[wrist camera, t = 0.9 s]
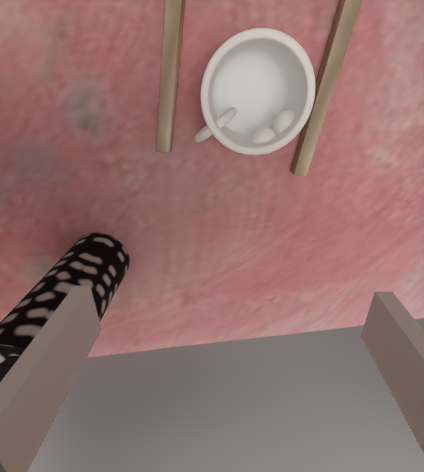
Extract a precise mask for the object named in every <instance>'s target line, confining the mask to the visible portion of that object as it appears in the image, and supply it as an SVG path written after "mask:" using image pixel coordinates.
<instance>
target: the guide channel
mask: <svg viewBox="0 0 424 472" xmlns="http://www.w3.org/2000/svg"><path fill="white" fill-rule="evenodd" d="M361 3H362V0H340V1H339V4H338V8H337V11H336V15H335V18H334V22H333V25H332V28H331V32H330V35H329V39H328V42H327V46H326V49H325V53H324V56H323V60H322V63H321V66H320V70H319V73H318V77H317V80H316V84H315V98H314V103H313V107H312V110H311V113H310V115H309V118H308V120H307V121H306V123H305V125H304V126H303V129H302V132H301V135H300V139H299V142H298V146H297V149H296V153H295V156H294V160H293V163H292V166H291V170H290V171H291V172H292V173H293V175H298V176H304V177H306V175H307V172H308V169H309V166H310V163H311V160H312V157H313V153H314V150H315V147H316V144H317V141H318V138H319V135H320V132H321V128H322V125H323V122H324V119H325V116H326V113H327V110H328V106H329V103H330V100H331V97H332V94H333V91H334V88H335V85H336V81H337V78H338V75H339V72H340V69H341V66H342V63H343V60H344V56H345V53H346V50H347V47H348V44H349V41H350V38H351V35H352V31H353V28H354V25H355V22H356V19H357V16H358V13H359V9H360V6H361ZM184 6H185V0H166V4H165V20H164V35H163V51H162V67H161V82H160V98H159V114H158V129H157V145H156V152H161V153H167V154H169V153H170V152H171V151H172V141H173V129H174V118H175V107H176V96H177V84H178V73H179V62H180V51H181V39H182V28H183V17H184Z"/></svg>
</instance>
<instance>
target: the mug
mask: <svg viewBox="0 0 424 472" xmlns="http://www.w3.org/2000/svg"><path fill="white" fill-rule="evenodd" d="M314 98H315V76H314V71H313V67H312V64H311V62H310V59H309V57H308V55H307V54H306V52H305V50H304V49H303V48H302V46H301V45H300V44H299V43H298V42H297V41H296V40H295V39H293V38H292V37H291V36H289V35H287V34H286V33H283V32H281V31H279V30H275V29H271V28H254V29H249V30H245V31H243V32H240V33H238V34H236V35H234V36H233V37H231V38H230V39H228V40H227V41H226V42H224V43H223V44H222V45H221V46H220V47H219V48H218V50H217V51H216V52H215V53H214V55H213V56H212V58H211V59H210V61H209V63H208V65H207V67H206V70H205V72H204V75H203V79H202V84H201V93H200V99H201V108H202V113H203V116H204V119H205V122H206V124H207V125H206V126H205V127H203V128H202V129H201V130H200V131H199V132H198V133H197V134H196V135H195V136H194V141H195V142H197V143H200V142H202V141H204V140H205V139H207V138H209V137H210V136H211V135H214V136H215V138H216V139H217V140H218V141H219V142H220V143H222V144H223V145H224V146H226V147H227V148H229V149H231V150H233V151H235V152H238V153H241V154H246V155H262V154H270V153H271V152H273V151H275V150H278V149H280V148H281V147H283V146H285V145H286V144H288V143H289V142H290V141H291V140H292V139H293V138H294V137H295V136H296V135H297V134H298V133H299V132H300V131H301V129H302V128H303V126H304V125H305V123H306V121H307V120H308V118H309V115H310V113H311V110H312V107H313V103H314Z"/></svg>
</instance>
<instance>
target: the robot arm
mask: <svg viewBox="0 0 424 472" xmlns="http://www.w3.org/2000/svg"><path fill="white" fill-rule="evenodd" d="M100 331H101V325H100V321H99V318H98V314H97V310H96V306H95V302H94V298H93V294H92V290H91V287H90V286H74V287H73V288H72V290H71V291H70V292H69V293H68V295H67V296H66V297H65V299H64V300H63V301H62V303H61V304H60V305H59V306H58V308H57V309H56V310H55V312H54V313H53V314H52V316H51V317H50V318H49V320H48V321H47V322H46V323H45V325H44V326H43V327H42V329H41V330H40V331H39V333H38V334H37V335H36V336H35V338H34V339H33V340H32V342H31V343H30V344H29V346H28V347H27V348H26V349H25V351H24V352H23V353H22V355H21V356H9V357H8V358H7V359H6V360H4V361H3V362H2V363H0V472H27V471H28V469H29V467H30V465H31V463H32V461H33V460H34V458H35V456H36V454H37V452H38V450H39V448H40V446H41V444H42V442H43V440H44V438H45V437H46V435H47V433H48V431H49V429H50V427H51V425H52V423H53V421H54V419H55V417H56V415H57V413H58V411H59V410H60V408H61V406H62V404H63V402H64V400H65V398H66V396H67V394H68V392H69V390H70V388H71V386H72V385H73V383H74V381H75V379H76V377H77V375H78V373H79V371H80V369H81V367H82V365H83V363H84V361H85V359H86V358H87V356H88V354H89V352H90V350H91V348H92V346H93V344H94V342H95V340H96V338H97V336H98V335H99V333H100ZM361 337H362V339H363V341H364V342H365V345H366V347H367V348H368V350H369V352H370V354H371V356H372V358H373V360H374V361H375V363H376V365H377V367H378V369H379V371H380V373H381V374H382V376H383V378H384V380H385V382H386V384H387V386H388V387H389V389H390V391H391V393H392V395H393V397H394V398H395V400H396V402H397V404H398V406H399V408H400V409H401V412H402V413H403V415H404V417H405V419H406V421H407V423H408V425H409V426H410V428H411V430H412V432H413V434H414V436H415V437H416V439H417V441H418V443H419V445H420V447H421V449H422V451H423V452H424V331H423V330H422V328H421V327H420V326H419V325H418V323H417V322H416V321H415V320H414V318H413V317H412V316H411V315H410V313H409V312H408V311H407V310H406V308H405V307H404V306H403V305H402V303H401V302H400V301H399V300H398V299H397V297H396V296H395V295H394V294H393V292H375V293H374V296H373V299H372V303H371V306H370V309H369V312H368V315H367V318H366V321H365V325H364V328H363V331H362V334H361Z"/></svg>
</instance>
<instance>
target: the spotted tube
mask: <svg viewBox="0 0 424 472" xmlns="http://www.w3.org/2000/svg"><path fill="white" fill-rule="evenodd" d="M128 267H129V256H128V253H127V251H126V249H125V248H124V246H123V245H122V244H121V243H120V242H119V241H117V240H116V239H114V238H113V237H110V236H108V235H105V234H99V233H93V234H88V235H85V236H83V237H82V238H81V239H79V240H78V241H77V242H76V243H75V245H74V246H73V247H72V248H71V249H70V250H69V251H68V252H67V253H66V254H65V255H64V256H63V257H62V258H61V259H60V260H59V261H58V262H57V263H56V265H55V266H54V267H53V268H52V269H51V270H50V271H49V272H48V273H47V274H46V275H45V276H44V277H43V278H42V279H41V280H40V281H39V282H38V283H37V284H36V286H35V287H34V288H33V289H32V290H31V291H30V292H29V293H28V294H27V295H26V296H25V297H24V298H23V299H22V300H21V301H20V302H19V303H18V304H17V306H16V307H15V308H14V309H13V310H12V311H11V312H10V313H9V314H8V315H7V316H6V317H5V318H4V319H3V320H2V321H1V322H0V363H2V362H3V361H4V360H6V359H7V358H8V357H9V356H21V355H22V353H23V352H24V351H25V349H26V348H27V347H28V346H29V344H30V343H31V342H32V340H33V339H34V338H35V336H36V335H37V334H38V333H39V331H40V330H41V329H42V327H43V326H44V325H45V323H46V322H47V321H48V320H49V318H50V317H51V316H52V314H53V313H54V312H55V310H56V309H57V308H58V306H59V305H60V304H61V303H62V301H63V300H64V299H65V297H66V296H67V295H68V293H69V292H70V291H71V290H72V288H73V287H74V286H90V287H91V290H92V294H93V298H94V302H95V306H96V310H97V314H98V318H99V321H100V320H101V318H102V317H103V315H104V313H105V311H106V309H107V307H108V305H109V303H110V302H111V300H112V298H113V296H114V294H115V292H116V290H117V288H118V286H119V285H120V283H121V281H122V279H123V277H124V275H125V273H126V271H127V269H128Z"/></svg>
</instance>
